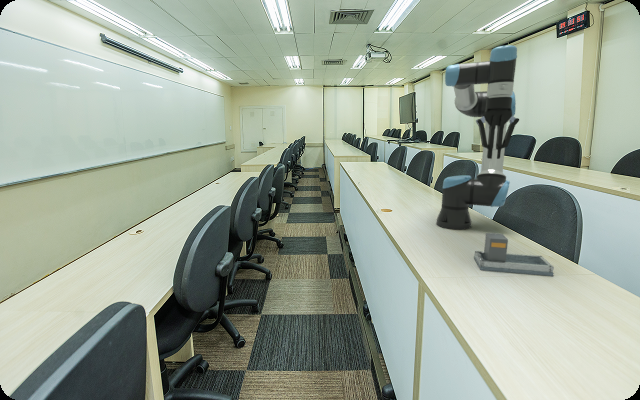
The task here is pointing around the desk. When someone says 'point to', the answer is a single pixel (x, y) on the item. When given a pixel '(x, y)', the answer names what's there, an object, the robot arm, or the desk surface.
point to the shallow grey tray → (516, 264)
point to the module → (495, 247)
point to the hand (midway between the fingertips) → (492, 168)
